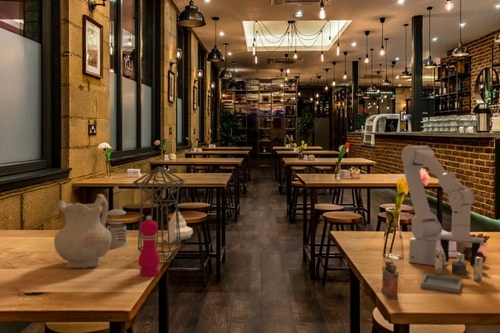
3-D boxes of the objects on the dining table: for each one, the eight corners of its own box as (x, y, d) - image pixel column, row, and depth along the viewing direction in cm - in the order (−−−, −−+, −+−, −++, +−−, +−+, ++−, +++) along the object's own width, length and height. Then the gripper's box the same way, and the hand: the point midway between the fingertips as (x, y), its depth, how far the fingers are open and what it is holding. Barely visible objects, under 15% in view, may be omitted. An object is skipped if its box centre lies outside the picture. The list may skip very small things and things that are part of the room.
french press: (133, 244, 198) (133, 186, 196) (112, 249, 188) (111, 188, 186) (117, 241, 203) (117, 184, 201) (96, 246, 193) (95, 187, 191)
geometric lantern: (131, 263, 169) (129, 168, 166) (151, 252, 184) (150, 165, 181) (170, 267, 164) (169, 169, 162) (188, 255, 179) (187, 166, 177)
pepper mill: (164, 272, 159) (163, 214, 157) (153, 278, 152) (152, 218, 150) (145, 269, 161) (145, 213, 160) (134, 275, 154) (133, 216, 153)
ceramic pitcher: (80, 256, 181) (74, 193, 180) (126, 256, 177) (120, 191, 175) (45, 273, 160) (38, 202, 158) (96, 273, 156) (89, 200, 154)
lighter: (379, 290, 142) (380, 258, 141) (389, 290, 142) (390, 258, 141) (389, 300, 134) (390, 266, 133) (400, 299, 134) (401, 266, 133)
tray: (420, 287, 144) (420, 283, 144) (425, 278, 154) (425, 273, 154) (459, 293, 139) (459, 288, 139) (461, 283, 149) (461, 278, 149)
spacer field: (434, 275, 157) (434, 260, 157) (439, 264, 170) (439, 251, 170) (481, 281, 150) (482, 266, 150) (482, 270, 164) (483, 256, 163)
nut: (451, 274, 158) (451, 264, 158) (452, 270, 163) (452, 260, 163) (465, 276, 156) (465, 266, 156) (466, 272, 161) (466, 262, 161)
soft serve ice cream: (156, 246, 201) (152, 214, 203) (180, 242, 213) (175, 212, 215) (176, 242, 194) (172, 209, 196) (200, 239, 206) (195, 207, 208)
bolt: (466, 259, 184) (479, 269, 169) (455, 252, 185) (466, 262, 170) (474, 247, 183) (488, 256, 169) (463, 240, 184) (475, 248, 169)
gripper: (436, 223, 158) (435, 262, 159) (484, 228, 151) (482, 268, 152) (439, 220, 164) (437, 258, 165) (484, 224, 158) (483, 263, 159)
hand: (459, 262), depth 159 cm, fingers open, 7 cm apart
